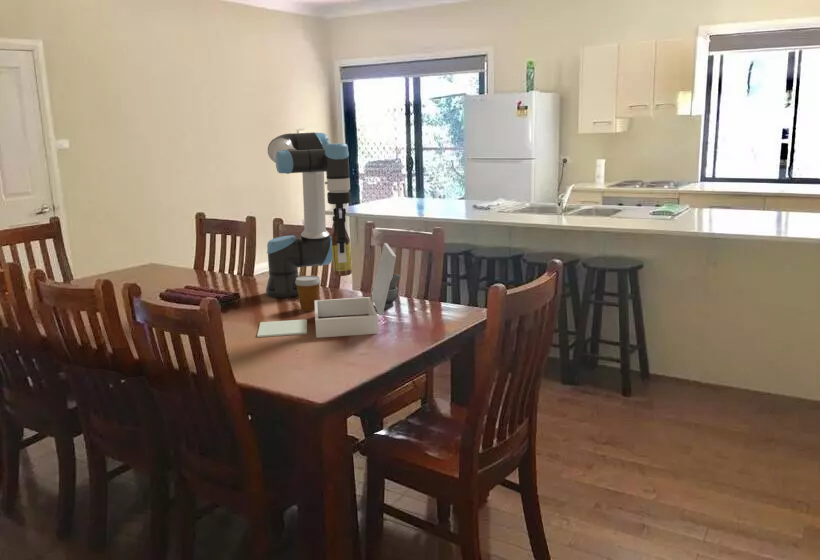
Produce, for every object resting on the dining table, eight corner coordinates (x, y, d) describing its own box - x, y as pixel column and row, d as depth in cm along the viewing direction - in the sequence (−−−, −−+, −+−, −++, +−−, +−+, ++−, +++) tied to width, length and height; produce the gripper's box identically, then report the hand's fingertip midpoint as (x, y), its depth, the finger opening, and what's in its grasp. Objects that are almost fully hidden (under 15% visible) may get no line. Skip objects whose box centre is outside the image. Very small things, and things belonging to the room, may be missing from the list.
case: (315, 316, 246) (314, 300, 245) (370, 313, 249) (370, 296, 248) (316, 337, 221) (315, 319, 220) (378, 333, 224) (377, 315, 222)
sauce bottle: (355, 274, 231) (353, 215, 227) (341, 277, 227) (338, 218, 222) (343, 271, 236) (341, 214, 231) (329, 274, 232) (326, 216, 227)
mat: (260, 323, 239) (260, 322, 239) (306, 320, 241) (306, 319, 241) (257, 337, 223) (257, 335, 223) (306, 333, 225) (306, 332, 225)
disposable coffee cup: (317, 313, 251) (315, 281, 248) (293, 312, 253) (290, 280, 250) (325, 306, 260) (324, 275, 258) (302, 305, 262) (300, 275, 259)
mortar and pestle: (378, 310, 252) (377, 278, 249) (368, 305, 260) (367, 274, 258) (406, 306, 257) (405, 275, 254) (395, 301, 265) (394, 270, 262)
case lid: (384, 242, 244) (387, 243, 244) (371, 296, 248) (374, 297, 248) (392, 255, 219) (396, 256, 219) (378, 315, 222) (382, 315, 223)
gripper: (326, 189, 234) (329, 255, 239) (328, 194, 215) (331, 266, 220) (348, 188, 235) (351, 254, 240) (351, 193, 216) (355, 265, 222)
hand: (341, 260), depth 230 cm, fingers closed on sauce bottle, 6 cm apart
